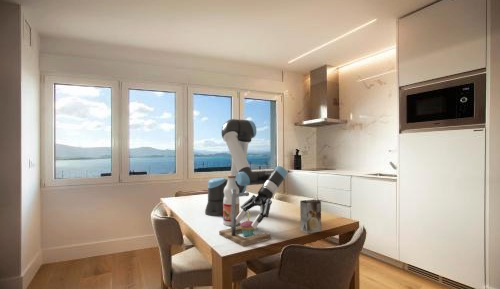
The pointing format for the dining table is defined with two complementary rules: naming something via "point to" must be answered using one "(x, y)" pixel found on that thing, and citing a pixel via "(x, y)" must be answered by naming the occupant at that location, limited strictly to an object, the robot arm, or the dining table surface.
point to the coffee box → (310, 216)
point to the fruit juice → (230, 201)
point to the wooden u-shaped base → (241, 240)
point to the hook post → (235, 208)
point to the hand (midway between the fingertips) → (244, 224)
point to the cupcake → (247, 228)
